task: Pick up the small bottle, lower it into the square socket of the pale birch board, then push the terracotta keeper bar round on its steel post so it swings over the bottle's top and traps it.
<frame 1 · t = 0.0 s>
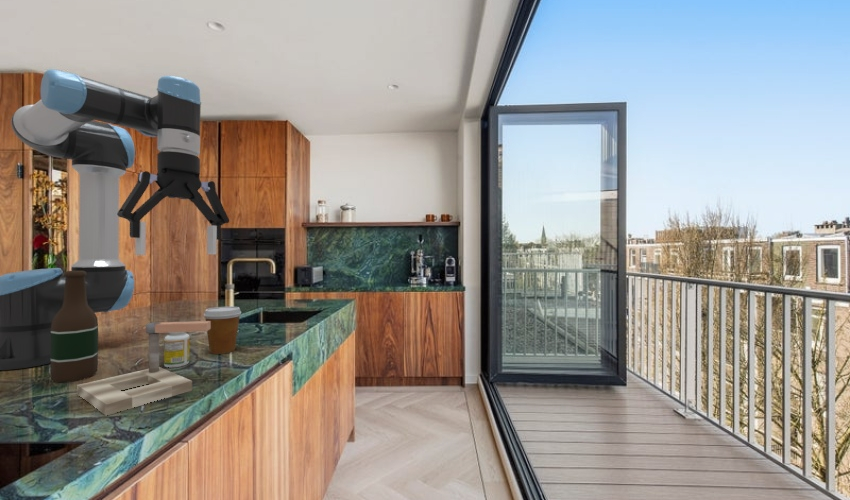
hand: (178, 254, 78), 28 cm above the counter, fingers open, 13 cm apart
keeper board: (135, 392, 75), on the counter
beer bottle: (75, 377, 84), on the counter
keeper bar: (178, 326, 83), point 12 cm above the counter, hinge at 90.0°
disposable coffee cup: (222, 351, 105), on the counter
supplement bottle: (176, 365, 93), on the counter
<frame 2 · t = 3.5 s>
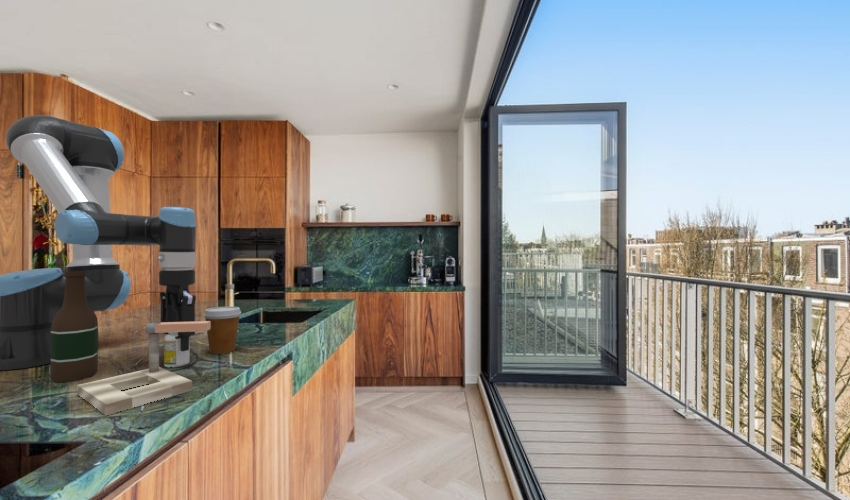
hand: (176, 361, 93), 1 cm above the counter, fingers closed on supplement bottle, 5 cm apart
supplement bottle: (176, 365, 93), on the counter, touching gripper
everything else where it was.
when the fingers open (3 cm above the counter, at t = 9.2 s): supplement bottle drops 2 cm, resting in keeper board.
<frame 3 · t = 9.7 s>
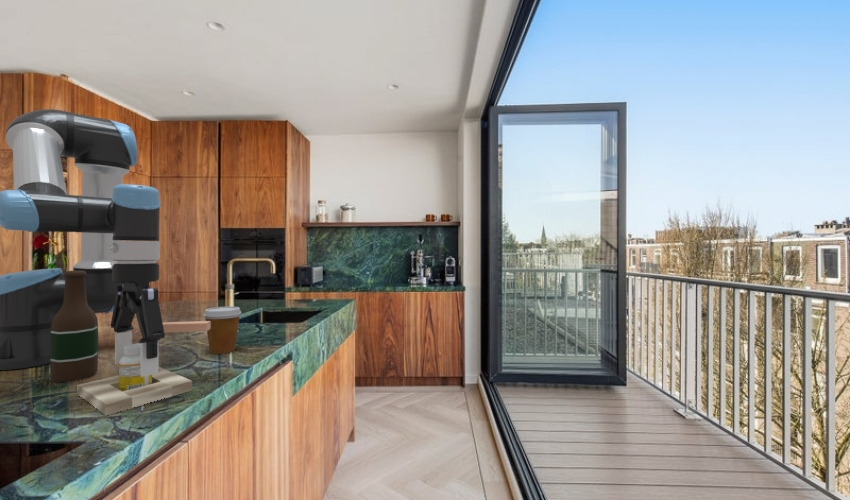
hand: (135, 368, 75), 5 cm above the counter, fingers open, 12 cm apart
supplement bottle: (135, 393, 75), resting in keeper board
everything else where it was.
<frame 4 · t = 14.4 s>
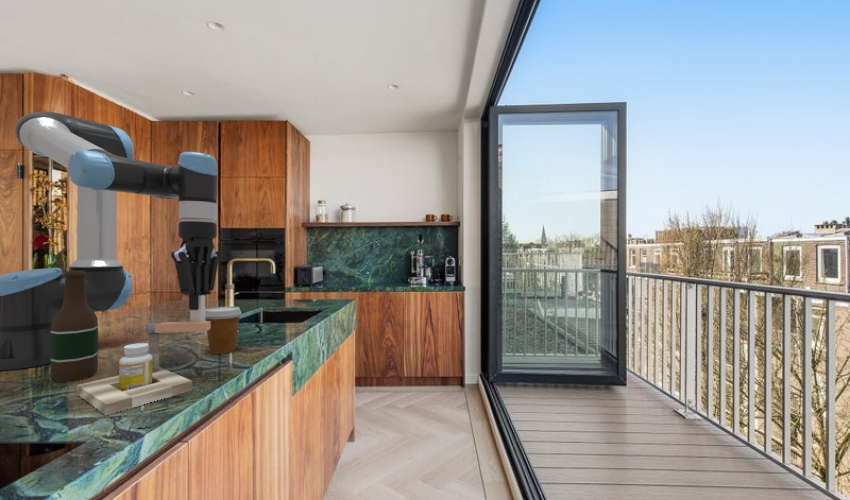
hand: (197, 323, 85), 12 cm above the counter, fingers closed
keeper bar: (178, 326, 83), point 12 cm above the counter, hinge at 89.9°, touching gripper
everything else where it was.
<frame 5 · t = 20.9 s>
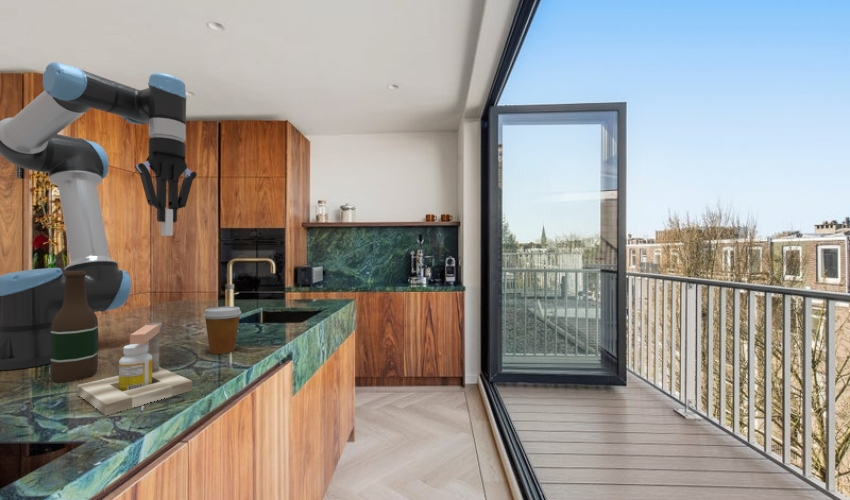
hand: (166, 235, 92), 32 cm above the counter, fingers closed
keeper bar: (147, 332, 77), point 12 cm above the counter, hinge at 10.8°
everything else where it was.
at the end: supplement bottle 0.1 cm off-centre on the keeper board, point 0.0 cm above the keeper board's base; keeper bar at +11° (first picture: +90°); supplement bottle tilted 0° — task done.
